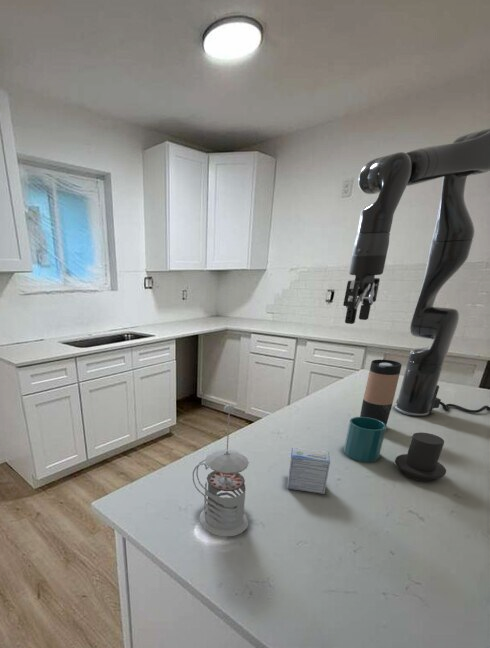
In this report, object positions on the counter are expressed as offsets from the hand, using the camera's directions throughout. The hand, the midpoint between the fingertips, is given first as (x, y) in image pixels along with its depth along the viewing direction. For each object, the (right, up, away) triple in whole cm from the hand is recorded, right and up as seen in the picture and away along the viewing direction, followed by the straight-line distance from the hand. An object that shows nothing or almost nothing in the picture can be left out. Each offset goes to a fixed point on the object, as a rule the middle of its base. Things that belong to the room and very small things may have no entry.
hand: (356, 321), depth 95 cm
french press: (-39, -46, -22) cm, 64 cm away
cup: (+1, -35, 0) cm, 35 cm away
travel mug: (+13, -28, +15) cm, 34 cm away
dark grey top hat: (+10, -39, -9) cm, 41 cm away
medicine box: (-18, -41, -12) cm, 47 cm away
